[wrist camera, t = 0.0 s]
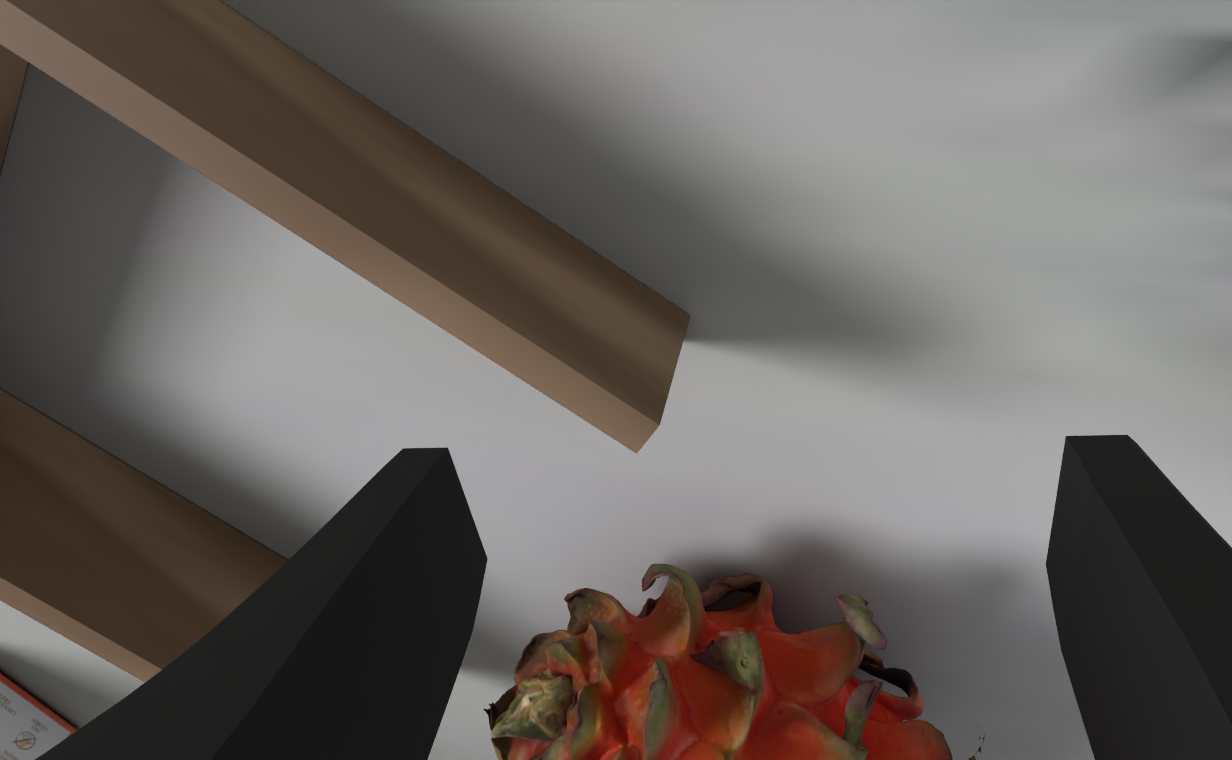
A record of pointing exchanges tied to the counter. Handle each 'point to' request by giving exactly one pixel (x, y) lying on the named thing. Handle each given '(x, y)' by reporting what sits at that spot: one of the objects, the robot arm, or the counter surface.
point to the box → (329, 220)
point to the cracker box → (27, 724)
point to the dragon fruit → (707, 684)
